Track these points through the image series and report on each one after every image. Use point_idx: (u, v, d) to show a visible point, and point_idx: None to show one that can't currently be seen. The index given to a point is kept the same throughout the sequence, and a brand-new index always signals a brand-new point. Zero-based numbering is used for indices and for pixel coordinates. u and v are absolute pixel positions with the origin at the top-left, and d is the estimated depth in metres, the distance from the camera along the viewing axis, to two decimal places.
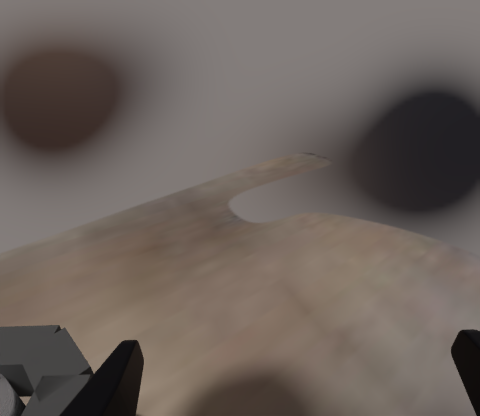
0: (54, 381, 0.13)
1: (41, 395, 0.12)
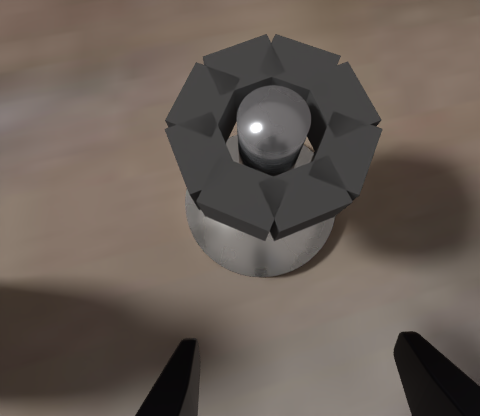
0: (346, 122, 0.12)
1: (335, 131, 0.12)
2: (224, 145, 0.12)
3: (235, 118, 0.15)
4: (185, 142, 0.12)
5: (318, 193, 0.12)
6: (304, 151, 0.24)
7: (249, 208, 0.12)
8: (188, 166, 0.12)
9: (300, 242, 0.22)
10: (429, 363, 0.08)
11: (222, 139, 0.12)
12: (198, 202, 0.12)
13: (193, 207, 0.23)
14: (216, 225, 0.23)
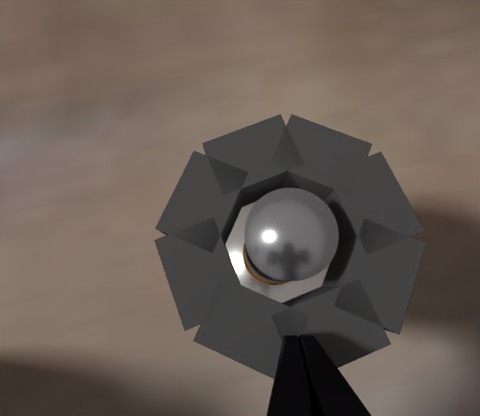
0: (381, 233, 0.10)
1: (367, 245, 0.10)
2: (228, 263, 0.10)
3: (241, 206, 0.12)
4: (180, 258, 0.10)
5: (347, 331, 0.09)
6: None
7: (260, 351, 0.09)
8: (184, 291, 0.10)
9: None
10: (313, 367, 0.08)
11: (226, 255, 0.10)
12: (196, 340, 0.09)
13: None
14: None
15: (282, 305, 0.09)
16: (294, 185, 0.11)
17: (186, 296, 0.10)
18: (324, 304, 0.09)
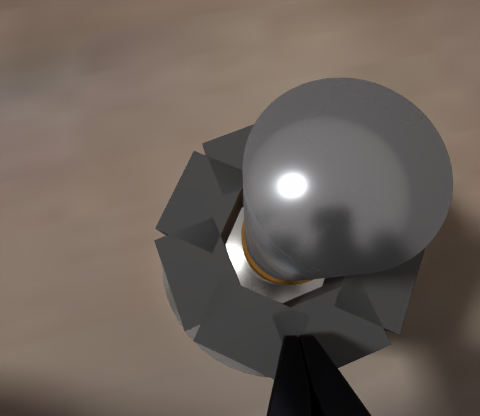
0: None
1: None
2: (228, 263, 0.10)
3: (241, 206, 0.12)
4: (180, 259, 0.10)
5: (347, 331, 0.09)
6: None
7: (260, 351, 0.09)
8: (184, 291, 0.10)
9: None
10: (313, 366, 0.08)
11: (226, 255, 0.10)
12: (195, 341, 0.09)
13: None
14: None
15: (282, 305, 0.09)
16: None
17: (186, 296, 0.10)
18: (324, 304, 0.09)
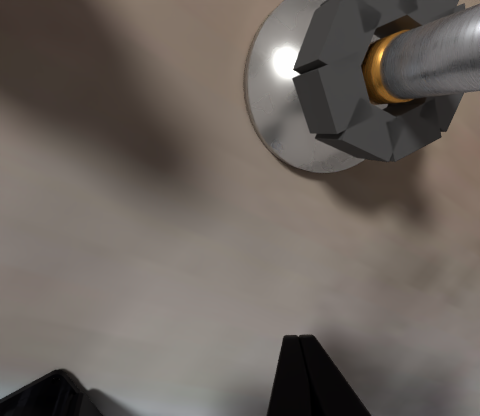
0: (432, 113, 0.15)
1: (422, 112, 0.15)
2: (366, 48, 0.14)
3: None
4: (348, 16, 0.13)
5: (379, 139, 0.15)
6: None
7: (340, 108, 0.14)
8: (335, 37, 0.13)
9: (326, 152, 0.21)
10: (313, 367, 0.08)
11: (368, 42, 0.14)
12: (317, 70, 0.13)
13: (275, 25, 0.18)
14: (279, 67, 0.18)
15: (368, 97, 0.14)
16: None
17: (334, 41, 0.13)
18: (383, 117, 0.15)
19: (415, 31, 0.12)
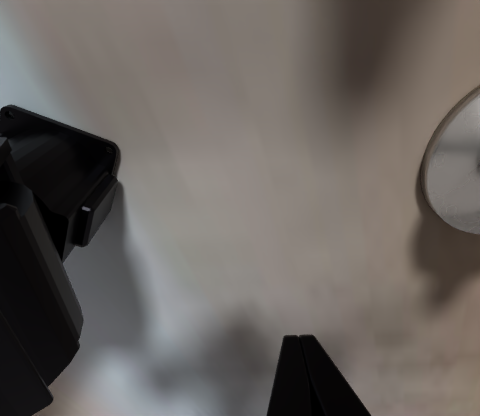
0: None
1: None
2: None
3: None
4: None
5: None
6: None
7: None
8: None
9: (455, 200, 0.20)
10: (313, 367, 0.08)
11: None
12: None
13: None
14: None
15: None
16: None
17: None
18: None
19: None
